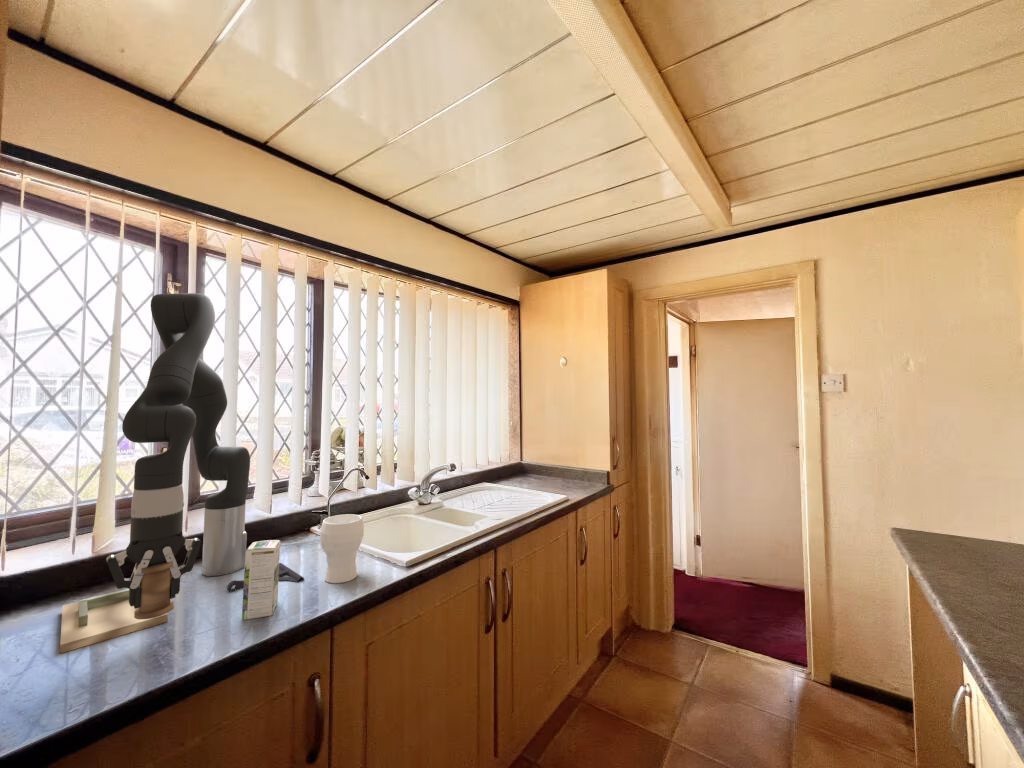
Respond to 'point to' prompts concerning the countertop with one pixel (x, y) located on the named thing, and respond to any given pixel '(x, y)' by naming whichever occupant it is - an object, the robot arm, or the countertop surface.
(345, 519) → the cup
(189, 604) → the countertop surface
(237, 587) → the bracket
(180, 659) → the countertop surface
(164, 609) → the wooden bobbin
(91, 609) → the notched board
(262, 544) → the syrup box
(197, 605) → the countertop surface
